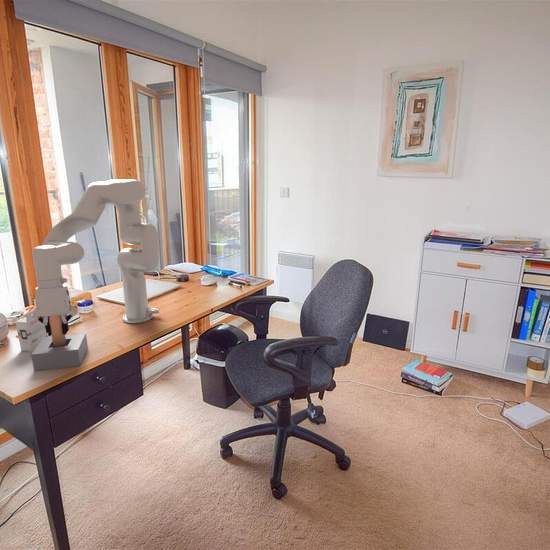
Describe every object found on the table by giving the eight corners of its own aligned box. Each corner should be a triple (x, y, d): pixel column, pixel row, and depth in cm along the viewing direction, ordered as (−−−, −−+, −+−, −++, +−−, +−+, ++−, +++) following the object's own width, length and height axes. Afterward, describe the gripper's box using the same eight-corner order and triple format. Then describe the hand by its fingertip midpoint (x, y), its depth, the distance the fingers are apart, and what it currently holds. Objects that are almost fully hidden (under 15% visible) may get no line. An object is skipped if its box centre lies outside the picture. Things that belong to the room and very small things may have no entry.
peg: (67, 340, 138) (62, 305, 135) (64, 345, 134) (59, 309, 131) (54, 341, 137) (49, 306, 134) (51, 346, 133) (45, 310, 130)
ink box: (37, 341, 151) (31, 305, 148) (49, 342, 151) (43, 305, 147) (20, 351, 143) (13, 313, 139) (32, 352, 143) (25, 314, 139)
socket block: (88, 347, 146) (85, 332, 144) (80, 365, 133) (77, 349, 131) (46, 352, 142) (43, 337, 141) (34, 371, 129) (31, 354, 128)
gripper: (80, 278, 136) (86, 327, 140) (25, 281, 132) (34, 332, 136) (75, 284, 129) (82, 335, 133) (17, 287, 125) (27, 341, 129)
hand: (58, 333), depth 135 cm, fingers closed on peg, 4 cm apart
